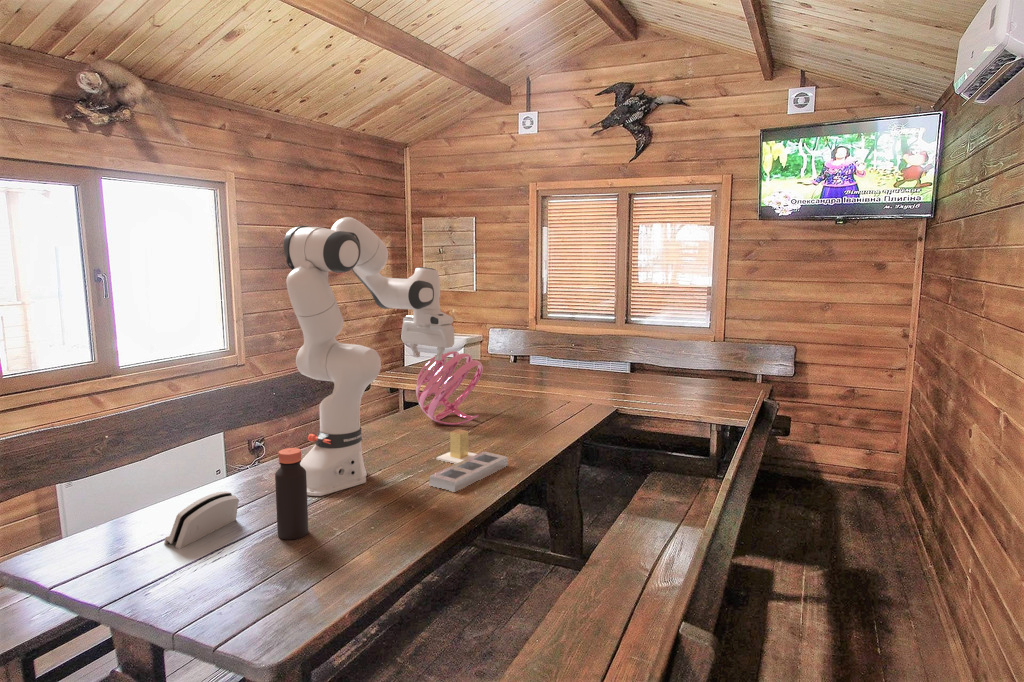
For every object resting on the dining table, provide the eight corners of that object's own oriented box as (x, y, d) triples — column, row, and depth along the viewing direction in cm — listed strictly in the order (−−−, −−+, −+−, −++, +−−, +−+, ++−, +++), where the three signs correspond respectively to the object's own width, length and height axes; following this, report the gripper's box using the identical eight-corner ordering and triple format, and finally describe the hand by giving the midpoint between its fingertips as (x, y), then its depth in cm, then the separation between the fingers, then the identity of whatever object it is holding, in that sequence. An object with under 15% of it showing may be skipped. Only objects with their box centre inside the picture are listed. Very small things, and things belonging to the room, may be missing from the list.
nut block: (460, 458, 201) (460, 434, 200) (450, 456, 204) (450, 431, 202) (468, 455, 205) (468, 431, 203) (458, 453, 207) (458, 428, 206)
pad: (461, 466, 197) (461, 463, 197) (436, 459, 203) (436, 457, 203) (481, 457, 206) (481, 454, 206) (456, 451, 211) (456, 449, 211)
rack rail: (454, 493, 176) (454, 482, 176) (429, 485, 181) (429, 475, 181) (507, 466, 198) (507, 456, 197) (483, 460, 203) (483, 451, 202)
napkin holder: (220, 515, 160) (229, 481, 157) (235, 525, 158) (244, 490, 156) (162, 544, 144) (170, 507, 142) (177, 555, 143) (186, 517, 140)
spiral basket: (514, 371, 243) (462, 327, 250) (470, 403, 222) (413, 354, 229) (488, 418, 260) (439, 376, 267) (444, 452, 239) (392, 405, 246)
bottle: (297, 525, 155) (294, 444, 152) (314, 533, 151) (311, 450, 148) (271, 534, 150) (268, 451, 147) (288, 543, 146) (284, 458, 143)
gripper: (396, 315, 215) (397, 356, 217) (444, 320, 204) (445, 363, 206) (409, 313, 220) (410, 353, 223) (457, 318, 209) (457, 360, 212)
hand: (427, 358), depth 214 cm, fingers open, 8 cm apart
